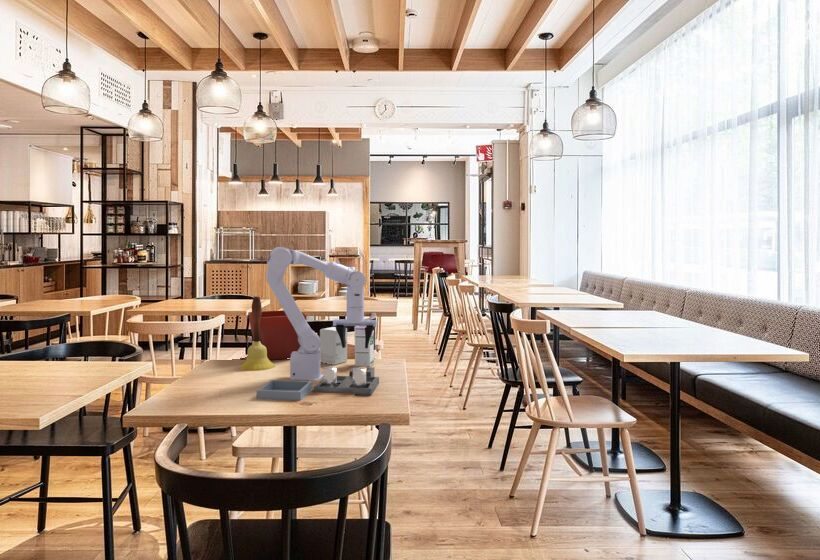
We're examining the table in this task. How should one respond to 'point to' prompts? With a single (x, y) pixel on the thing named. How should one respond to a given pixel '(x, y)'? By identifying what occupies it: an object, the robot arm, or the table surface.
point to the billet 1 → (329, 377)
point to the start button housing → (368, 373)
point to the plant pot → (276, 334)
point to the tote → (285, 390)
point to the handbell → (257, 344)
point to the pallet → (349, 386)
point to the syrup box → (363, 348)
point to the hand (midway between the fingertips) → (355, 347)
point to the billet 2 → (359, 378)
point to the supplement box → (332, 347)
